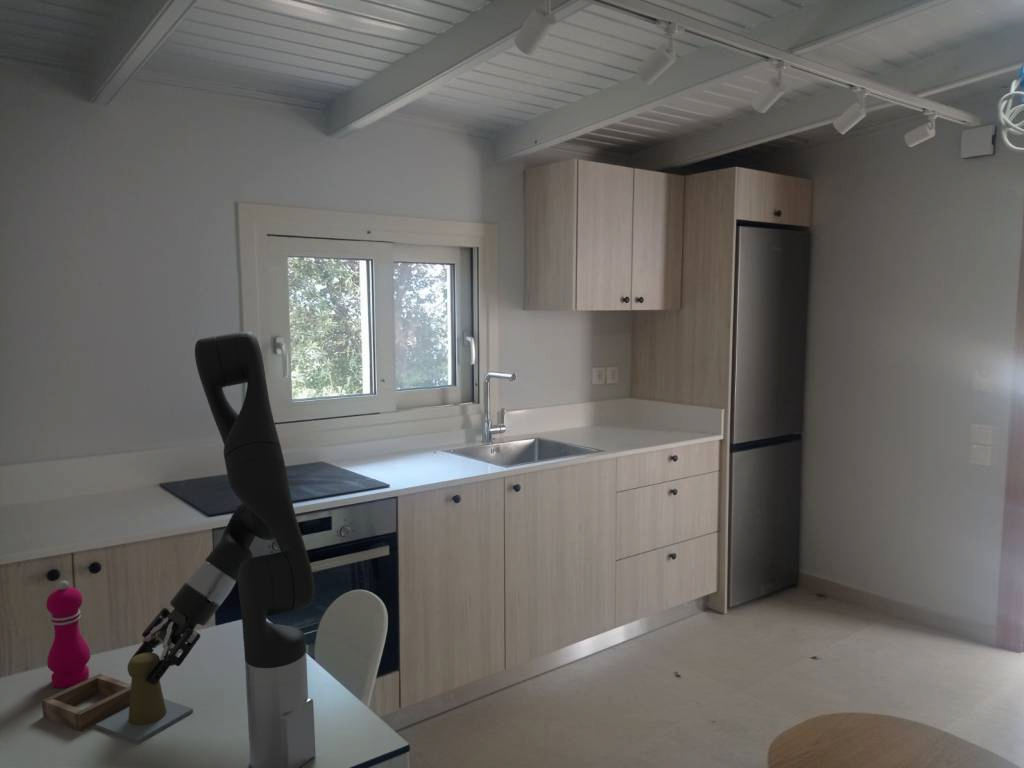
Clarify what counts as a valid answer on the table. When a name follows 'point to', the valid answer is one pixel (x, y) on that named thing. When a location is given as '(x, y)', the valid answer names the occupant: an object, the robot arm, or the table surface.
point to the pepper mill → (67, 638)
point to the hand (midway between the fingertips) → (141, 673)
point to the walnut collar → (78, 719)
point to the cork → (144, 691)
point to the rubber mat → (138, 733)
